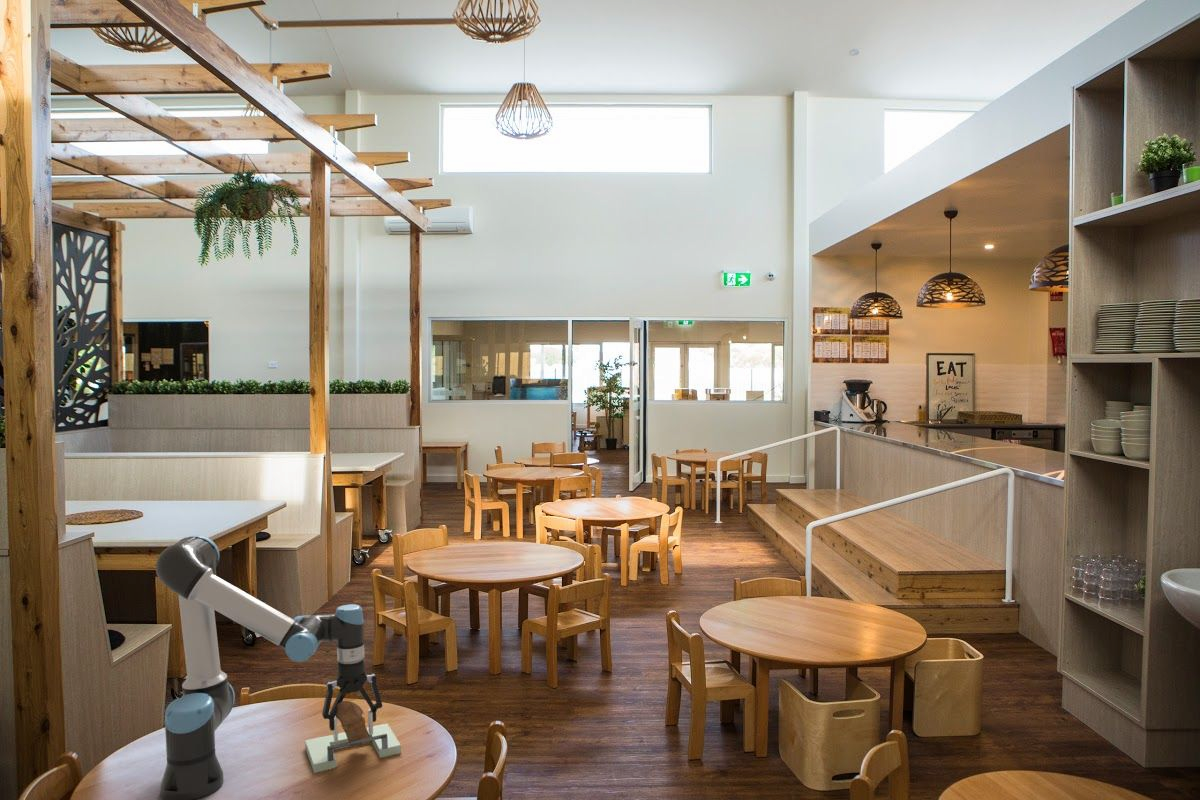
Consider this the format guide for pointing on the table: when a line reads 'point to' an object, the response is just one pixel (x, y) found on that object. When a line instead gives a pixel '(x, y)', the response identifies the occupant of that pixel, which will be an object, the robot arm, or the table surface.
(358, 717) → the figurine
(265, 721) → the table surface
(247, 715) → the table surface
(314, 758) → the pale green u-shaped slab
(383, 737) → the bar handle
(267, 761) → the table surface
